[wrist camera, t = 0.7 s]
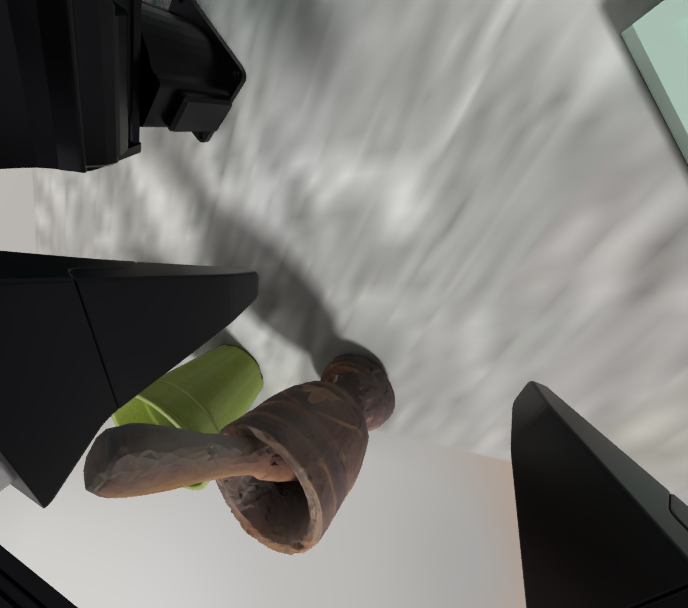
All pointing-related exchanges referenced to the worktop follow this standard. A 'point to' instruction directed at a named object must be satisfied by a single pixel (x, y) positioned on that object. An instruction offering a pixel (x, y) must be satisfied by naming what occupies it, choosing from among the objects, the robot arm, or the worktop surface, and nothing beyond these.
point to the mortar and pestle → (260, 455)
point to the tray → (664, 62)
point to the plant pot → (198, 394)
